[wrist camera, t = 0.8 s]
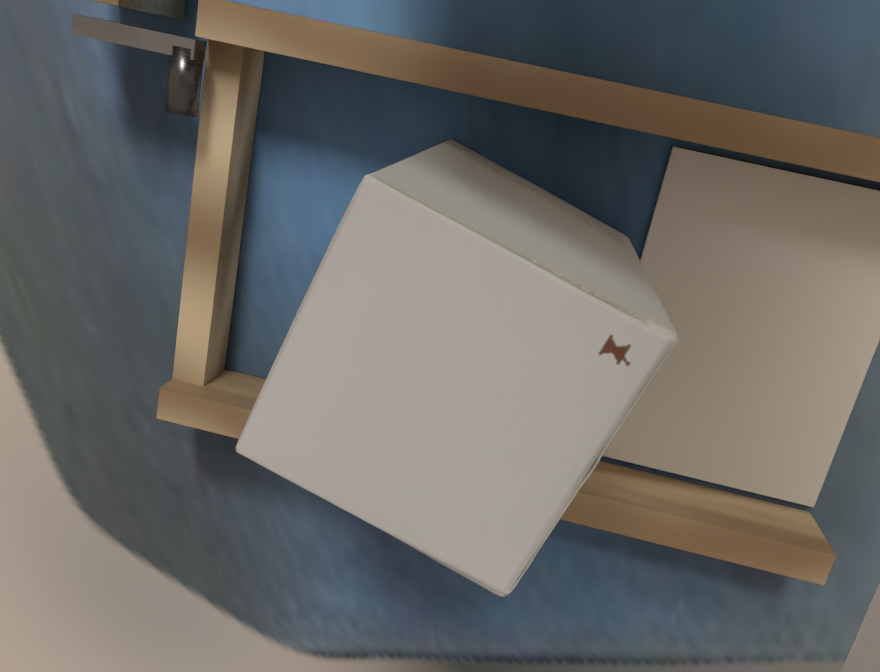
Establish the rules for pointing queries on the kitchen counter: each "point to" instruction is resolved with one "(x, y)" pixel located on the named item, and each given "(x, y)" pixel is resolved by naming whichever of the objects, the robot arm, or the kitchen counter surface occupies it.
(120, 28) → the winch
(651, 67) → the kitchen counter surface
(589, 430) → the supplement box
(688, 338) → the front mat
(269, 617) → the kitchen counter surface
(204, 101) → the bay
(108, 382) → the kitchen counter surface
